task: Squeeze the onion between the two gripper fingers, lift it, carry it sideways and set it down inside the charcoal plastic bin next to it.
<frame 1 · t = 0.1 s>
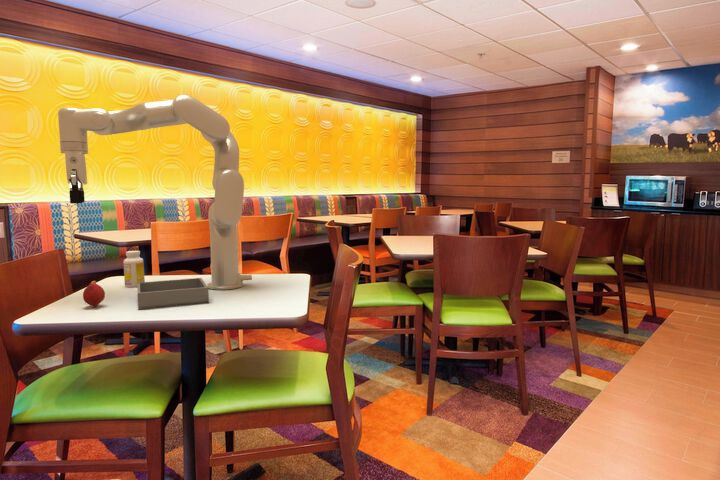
hand: (77, 203, 154), 31 cm above the table, tool pointing down, fingers open, 9 cm apart
supplement bottle: (134, 286, 178), on the table
onion: (94, 307, 146), on the table
bin: (172, 300, 154), on the table
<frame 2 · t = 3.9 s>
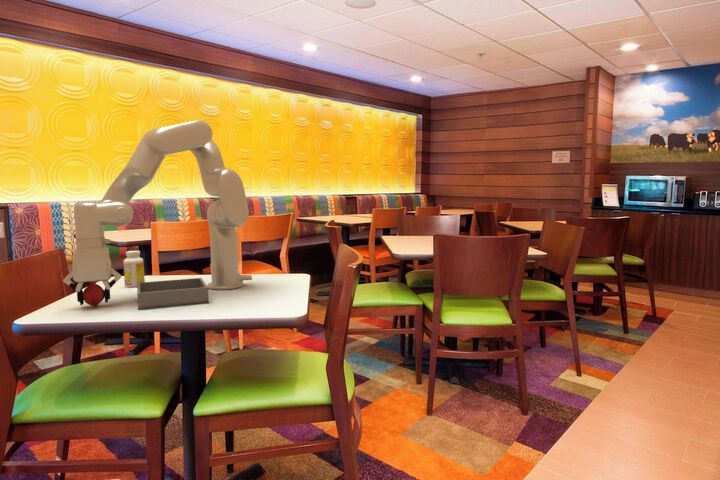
hand: (94, 302, 146), 1 cm above the table, tool pointing down, fingers closed on onion, 5 cm apart
onion: (94, 307, 146), on the table, touching gripper
everything else where it was.
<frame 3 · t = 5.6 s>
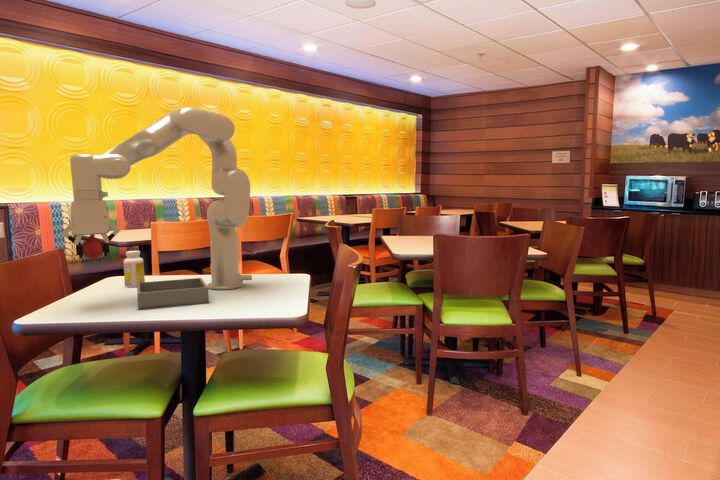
hand: (93, 256, 145), 15 cm above the table, tool pointing down, fingers closed on onion, 5 cm apart
onion: (94, 261, 145), point 14 cm above the table, touching gripper
everything else where it was.
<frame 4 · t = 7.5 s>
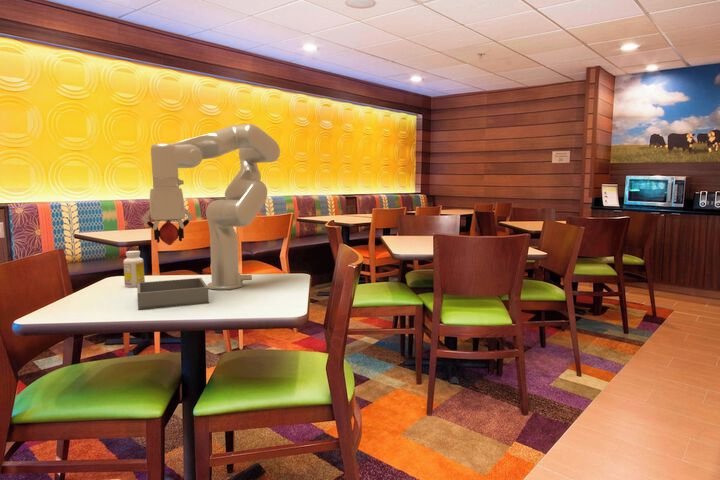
hand: (169, 240, 153), 19 cm above the table, tool pointing down, fingers closed on onion, 5 cm apart
onion: (169, 245, 153), point 18 cm above the table, touching gripper
everything else where it was.
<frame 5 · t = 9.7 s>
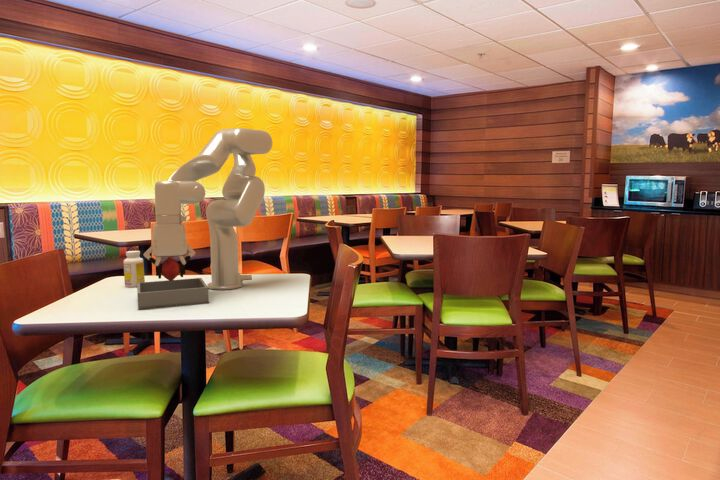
hand: (170, 276, 153), 8 cm above the table, tool pointing down, fingers closed on onion, 5 cm apart
onion: (170, 281, 153), point 6 cm above the table, touching gripper
everything else where it was.
when the fingers open (4 cm above the table, at t = 11.3 s): onion drops 2 cm, resting on bin.
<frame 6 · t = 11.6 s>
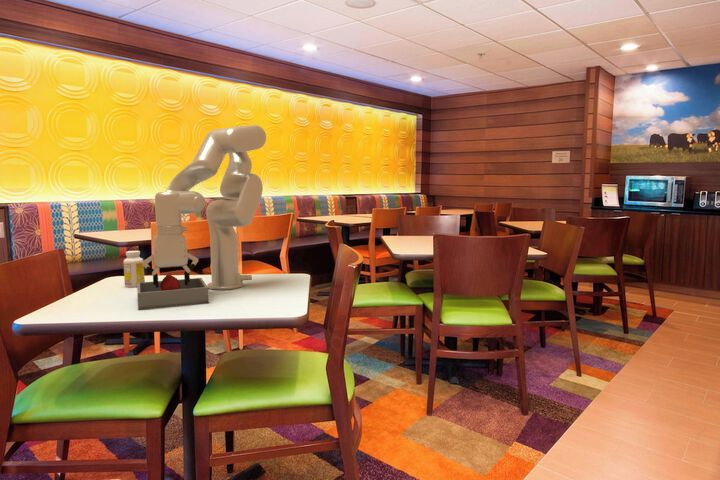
hand: (171, 285, 154), 5 cm above the table, tool pointing down, fingers open, 8 cm apart
onion: (172, 298, 154), point 1 cm above the table, touching bin
everything else where it was.
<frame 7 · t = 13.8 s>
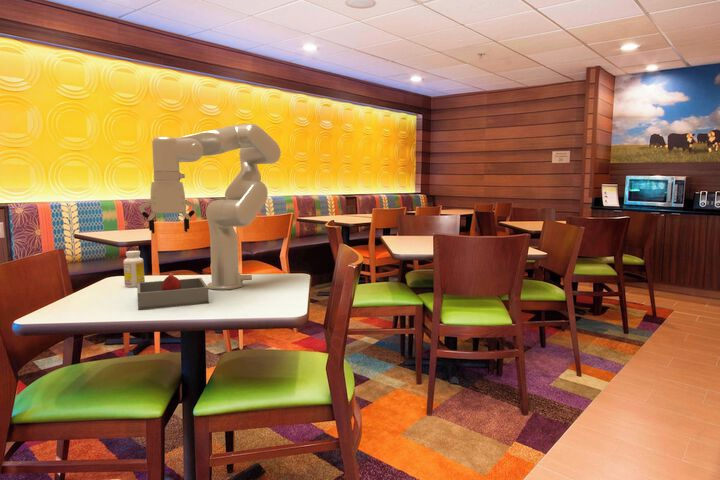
hand: (169, 232, 152), 22 cm above the table, tool pointing down, fingers open, 9 cm apart
nothing on the table moved.
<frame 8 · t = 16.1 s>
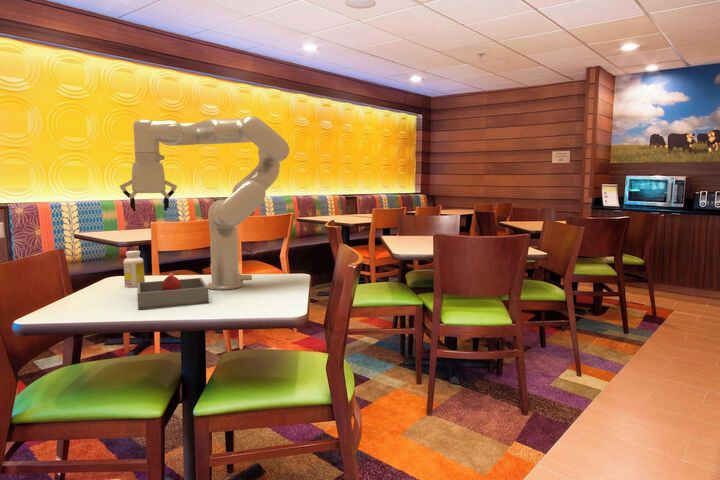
hand: (150, 210, 161), 28 cm above the table, tool pointing down, fingers open, 9 cm apart
nothing on the table moved.
at the end: onion inside the target area on the bin (0.1 cm from its centre), point 0.6 cm above the bin's base; the gripper is holding nothing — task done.
